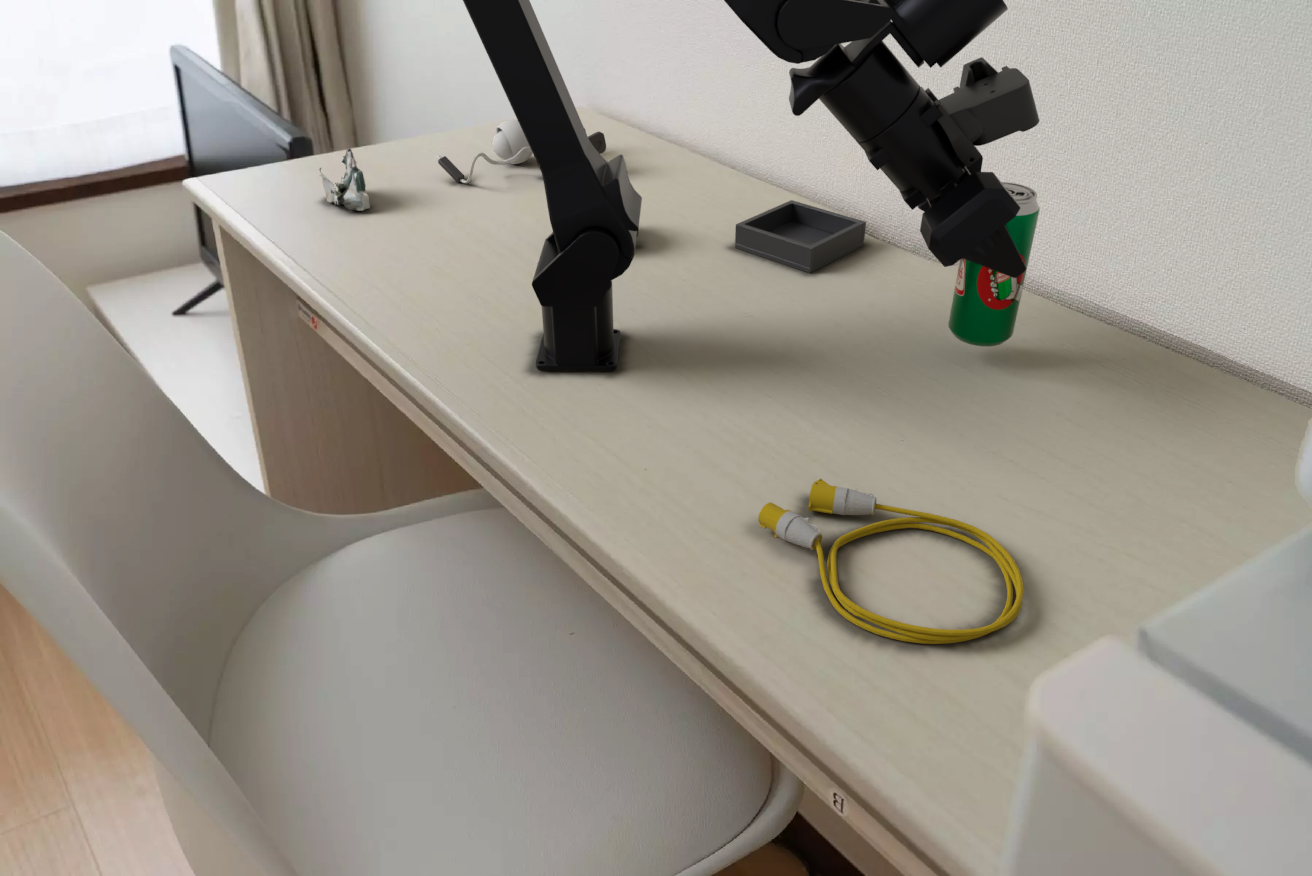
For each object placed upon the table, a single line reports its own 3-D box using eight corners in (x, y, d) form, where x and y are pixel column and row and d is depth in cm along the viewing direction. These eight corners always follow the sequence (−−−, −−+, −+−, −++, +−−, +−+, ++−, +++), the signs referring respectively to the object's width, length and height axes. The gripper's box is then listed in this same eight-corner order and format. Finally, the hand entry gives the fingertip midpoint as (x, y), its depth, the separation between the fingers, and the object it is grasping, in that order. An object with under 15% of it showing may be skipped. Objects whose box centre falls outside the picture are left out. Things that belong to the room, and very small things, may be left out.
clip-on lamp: (474, 222, 120) (613, 164, 125) (459, 173, 116) (603, 114, 121) (439, 182, 128) (571, 128, 133) (423, 134, 124) (560, 81, 129)
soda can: (958, 315, 89) (983, 175, 82) (1019, 330, 86) (1050, 187, 80) (938, 339, 85) (963, 194, 78) (1001, 355, 83) (1032, 207, 76)
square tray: (810, 273, 101) (812, 248, 100) (734, 247, 106) (735, 224, 105) (864, 245, 107) (866, 221, 105) (790, 222, 112) (791, 199, 111)
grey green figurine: (352, 190, 121) (342, 129, 117) (375, 211, 115) (365, 148, 111) (315, 197, 119) (303, 135, 115) (336, 219, 113) (325, 155, 110)
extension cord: (901, 473, 73) (905, 448, 72) (1065, 614, 61) (1072, 588, 60) (745, 518, 69) (746, 493, 68) (889, 680, 57) (893, 653, 56)
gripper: (1014, 64, 65) (1149, 237, 71) (952, 4, 81) (1067, 150, 87) (870, 186, 70) (1008, 339, 75) (838, 106, 85) (954, 239, 91)
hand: (1012, 259), depth 82 cm, fingers closed on soda can, 5 cm apart
